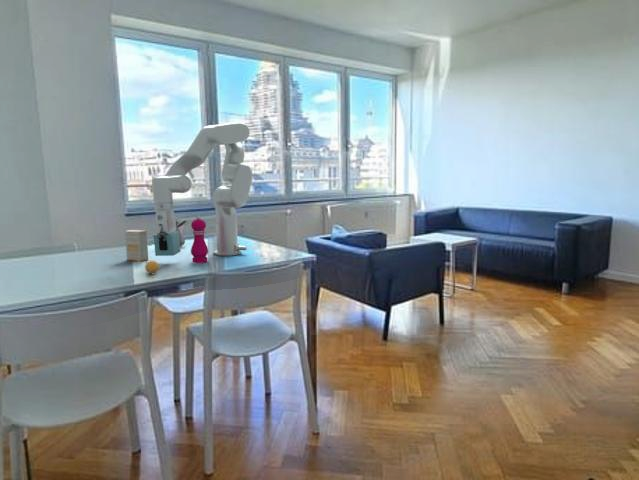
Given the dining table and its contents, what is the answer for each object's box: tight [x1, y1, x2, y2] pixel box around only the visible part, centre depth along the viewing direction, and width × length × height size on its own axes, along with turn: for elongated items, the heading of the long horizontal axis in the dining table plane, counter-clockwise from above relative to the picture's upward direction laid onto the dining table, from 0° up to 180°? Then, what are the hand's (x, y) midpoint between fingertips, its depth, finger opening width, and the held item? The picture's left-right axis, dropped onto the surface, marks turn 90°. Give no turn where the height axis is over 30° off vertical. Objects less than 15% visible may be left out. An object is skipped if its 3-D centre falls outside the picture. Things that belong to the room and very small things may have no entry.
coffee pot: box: [175, 220, 188, 248], centre depth 229 cm, size 21×12×15 cm, turn 42°
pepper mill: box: [190, 215, 209, 264], centre depth 197 cm, size 7×7×20 cm
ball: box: [145, 260, 160, 275], centre depth 177 cm, size 5×5×5 cm
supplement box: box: [124, 229, 149, 262], centre depth 201 cm, size 8×5×13 cm, turn 65°
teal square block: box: [153, 231, 181, 257], centre depth 194 cm, size 8×8×9 cm
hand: (167, 247), depth 195 cm, fingers closed on teal square block, 7 cm apart
